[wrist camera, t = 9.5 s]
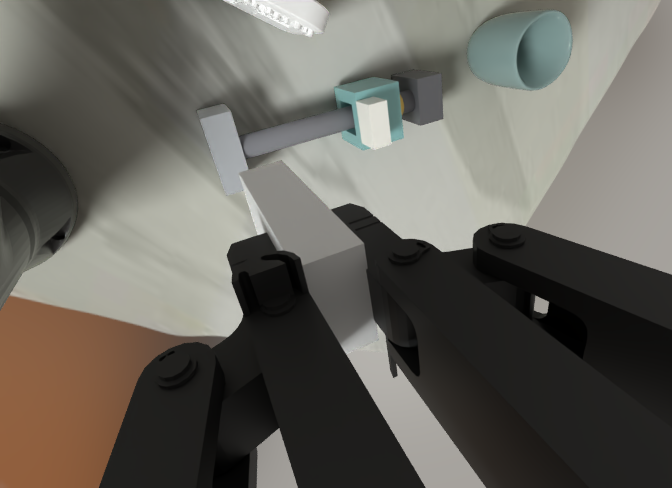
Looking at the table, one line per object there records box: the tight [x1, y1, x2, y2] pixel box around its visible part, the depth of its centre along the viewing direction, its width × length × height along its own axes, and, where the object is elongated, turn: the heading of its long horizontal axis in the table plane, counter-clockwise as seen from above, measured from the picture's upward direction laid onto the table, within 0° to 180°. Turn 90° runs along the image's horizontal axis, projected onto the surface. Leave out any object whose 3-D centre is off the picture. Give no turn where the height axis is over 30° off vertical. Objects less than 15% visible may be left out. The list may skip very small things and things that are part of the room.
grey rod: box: [239, 90, 415, 159], centre depth 44 cm, size 21×3×3 cm, turn 101°
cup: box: [467, 9, 573, 91], centre depth 47 cm, size 8×8×10 cm
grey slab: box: [196, 104, 249, 196], centre depth 42 cm, size 3×8×5 cm, turn 11°
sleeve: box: [334, 77, 404, 150], centre depth 43 cm, size 5×6×9 cm
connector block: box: [391, 70, 443, 126], centre depth 47 cm, size 3×5×6 cm, turn 11°
